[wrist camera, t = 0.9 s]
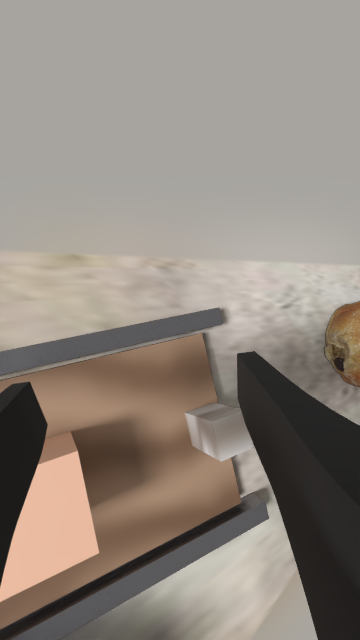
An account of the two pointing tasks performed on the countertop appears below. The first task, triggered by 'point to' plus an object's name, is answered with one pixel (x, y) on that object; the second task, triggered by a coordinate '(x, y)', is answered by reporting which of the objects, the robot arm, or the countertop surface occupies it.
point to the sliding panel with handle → (138, 453)
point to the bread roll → (345, 342)
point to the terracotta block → (51, 520)
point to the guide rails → (157, 564)
